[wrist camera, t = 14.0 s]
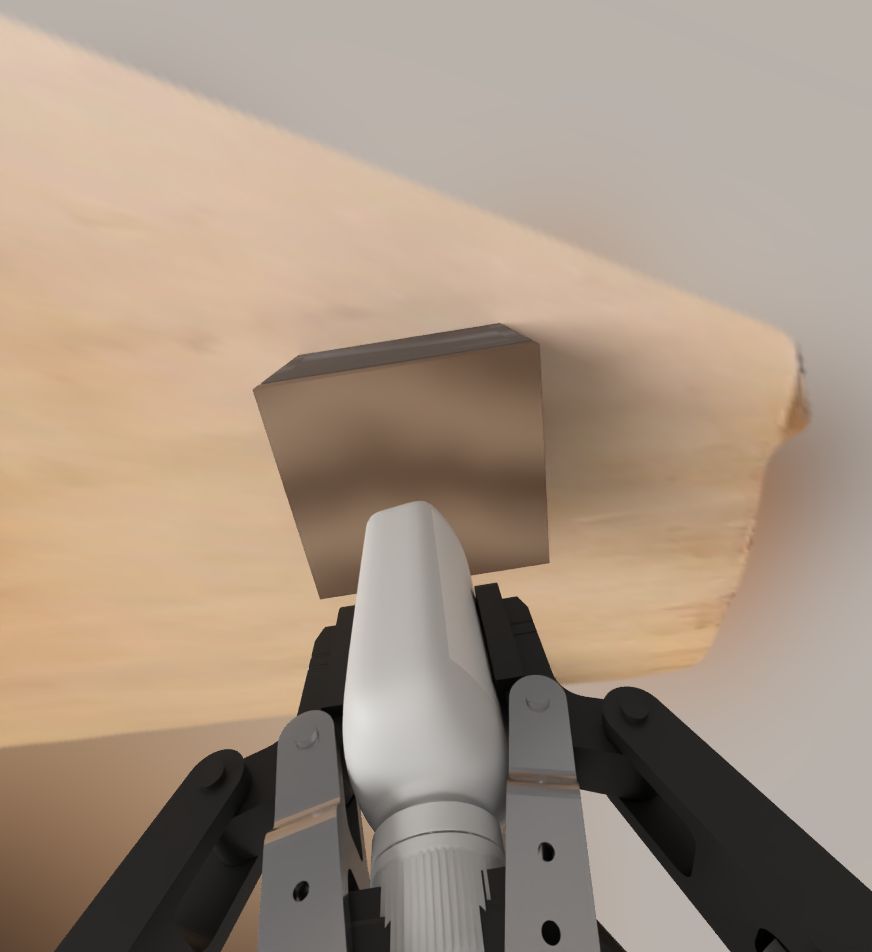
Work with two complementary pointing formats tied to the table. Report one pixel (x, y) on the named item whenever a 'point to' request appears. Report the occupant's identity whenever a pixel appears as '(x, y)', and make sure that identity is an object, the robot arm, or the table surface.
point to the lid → (415, 456)
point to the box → (397, 351)
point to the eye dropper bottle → (424, 732)
